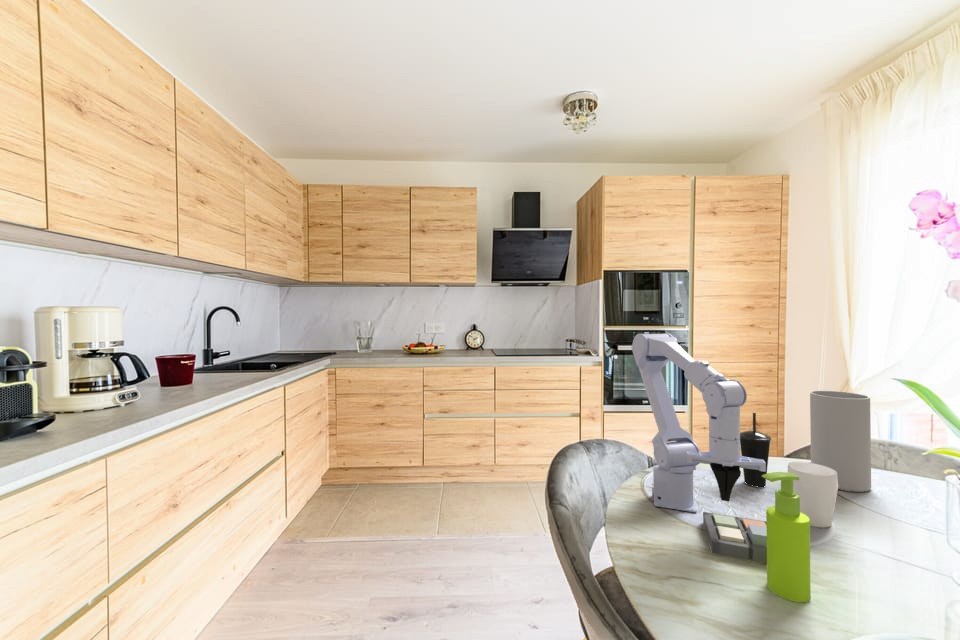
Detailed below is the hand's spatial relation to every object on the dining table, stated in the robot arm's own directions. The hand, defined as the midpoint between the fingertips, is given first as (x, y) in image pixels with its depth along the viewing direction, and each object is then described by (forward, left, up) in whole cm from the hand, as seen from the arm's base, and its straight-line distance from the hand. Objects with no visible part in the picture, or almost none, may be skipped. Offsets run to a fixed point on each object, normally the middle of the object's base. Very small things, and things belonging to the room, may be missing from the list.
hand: (724, 499), depth 86 cm
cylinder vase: (+35, +42, -8) cm, 55 cm away
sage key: (0, 0, -7) cm, 7 cm away
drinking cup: (+13, +33, -8) cm, 36 cm away
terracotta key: (+6, 0, -7) cm, 9 cm away
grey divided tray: (+3, -3, -8) cm, 8 cm away
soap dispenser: (+6, -17, -8) cm, 20 cm away
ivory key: (0, -6, -7) cm, 9 cm away
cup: (+20, +14, -8) cm, 25 cm away
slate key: (+6, -6, -6) cm, 10 cm away
